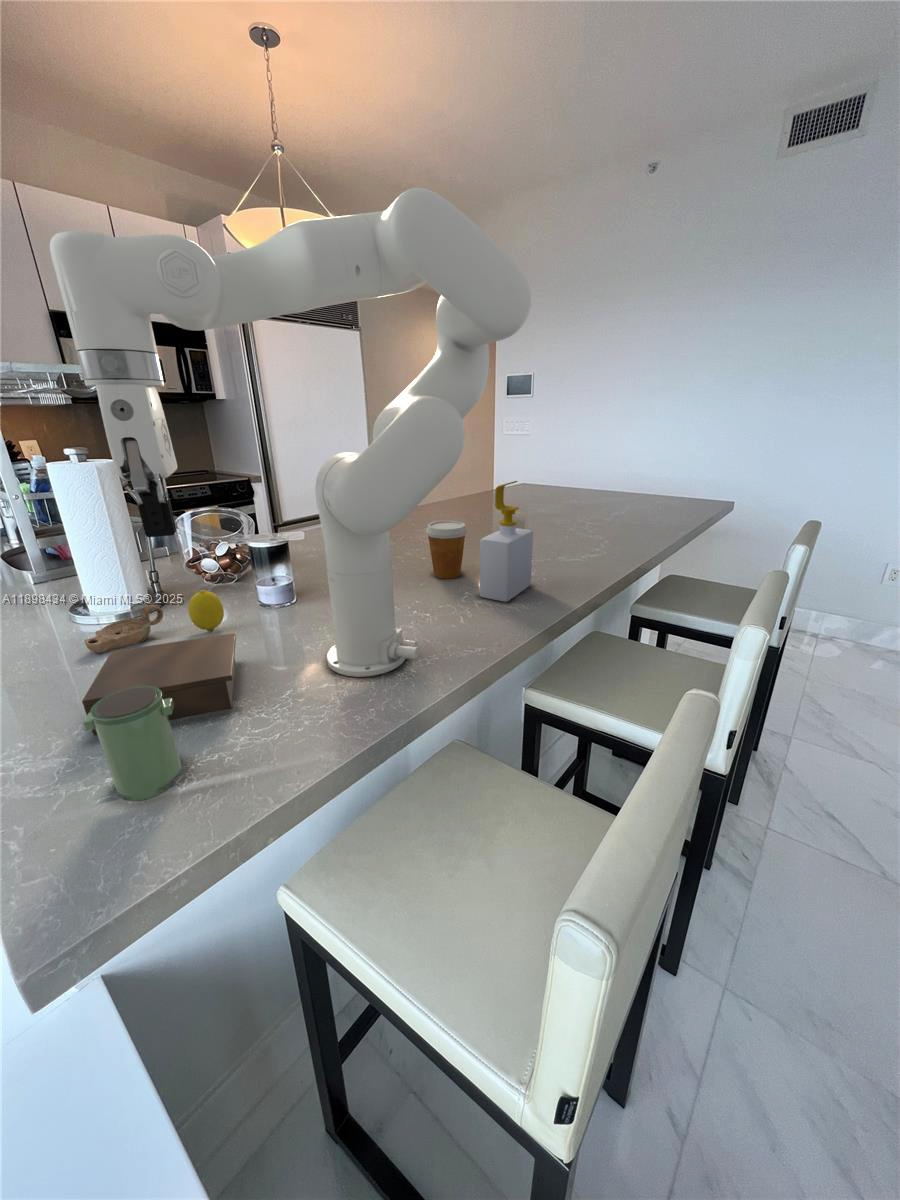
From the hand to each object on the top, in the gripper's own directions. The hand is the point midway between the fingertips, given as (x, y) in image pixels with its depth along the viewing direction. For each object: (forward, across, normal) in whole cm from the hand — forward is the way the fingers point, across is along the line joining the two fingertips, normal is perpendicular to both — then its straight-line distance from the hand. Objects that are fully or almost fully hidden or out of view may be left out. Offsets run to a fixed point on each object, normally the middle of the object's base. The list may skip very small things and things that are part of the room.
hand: (161, 534), depth 61 cm
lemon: (+23, +22, 0) cm, 32 cm away
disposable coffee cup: (+23, +36, -50) cm, 66 cm away
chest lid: (+18, 0, +3) cm, 18 cm away
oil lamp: (+23, +23, +13) cm, 35 cm away
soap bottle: (+23, +20, -58) cm, 66 cm away
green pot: (+23, -17, +3) cm, 29 cm away
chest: (+23, 0, +3) cm, 23 cm away
